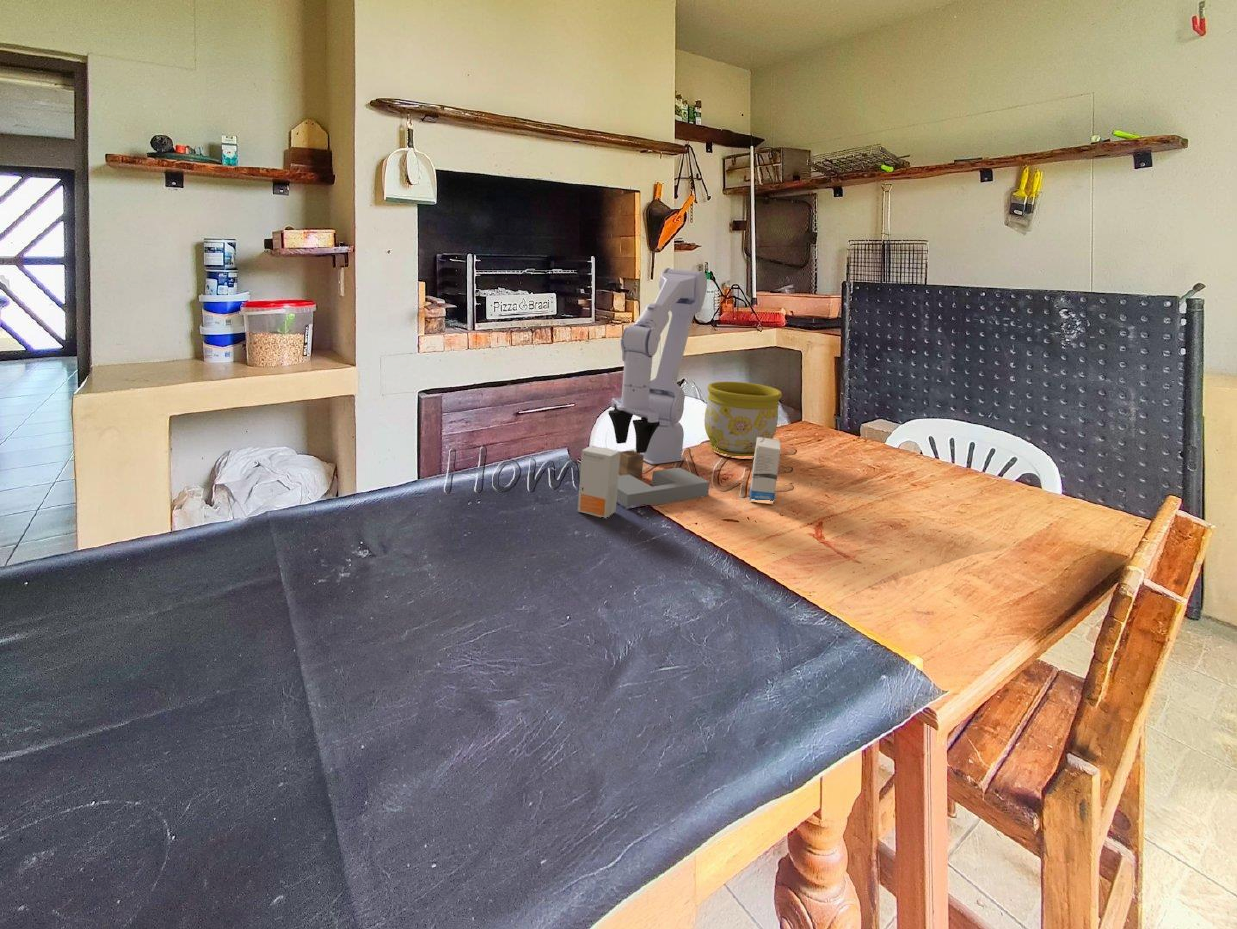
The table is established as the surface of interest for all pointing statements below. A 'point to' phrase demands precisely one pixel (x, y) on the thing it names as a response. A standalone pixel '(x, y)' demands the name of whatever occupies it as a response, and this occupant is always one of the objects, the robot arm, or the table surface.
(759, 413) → the flowerpot
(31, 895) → the table surface
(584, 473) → the skincare box
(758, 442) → the ink box
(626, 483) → the notched board
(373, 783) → the table surface
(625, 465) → the block
